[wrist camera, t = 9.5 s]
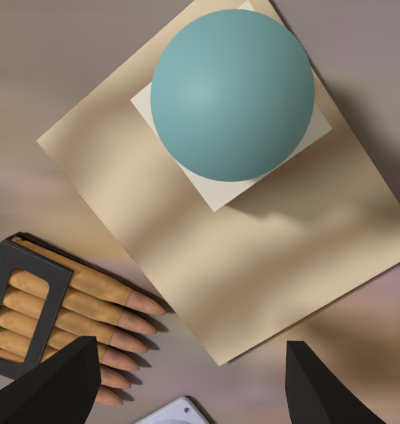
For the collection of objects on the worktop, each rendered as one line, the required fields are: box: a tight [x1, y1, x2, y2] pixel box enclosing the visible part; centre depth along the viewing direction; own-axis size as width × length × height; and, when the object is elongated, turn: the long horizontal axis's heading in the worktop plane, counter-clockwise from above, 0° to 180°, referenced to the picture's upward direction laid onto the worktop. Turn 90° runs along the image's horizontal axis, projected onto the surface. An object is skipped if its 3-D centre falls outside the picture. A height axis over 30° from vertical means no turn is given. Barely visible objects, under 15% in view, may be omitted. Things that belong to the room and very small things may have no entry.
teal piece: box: [150, 9, 315, 182], centre depth 11 cm, size 4×4×4 cm
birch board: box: [37, 0, 400, 366], centre depth 20 cm, size 20×16×1 cm
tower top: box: [131, 0, 332, 212], centre depth 14 cm, size 6×6×3 cm
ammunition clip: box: [0, 232, 166, 406], centre depth 23 cm, size 11×2×12 cm
